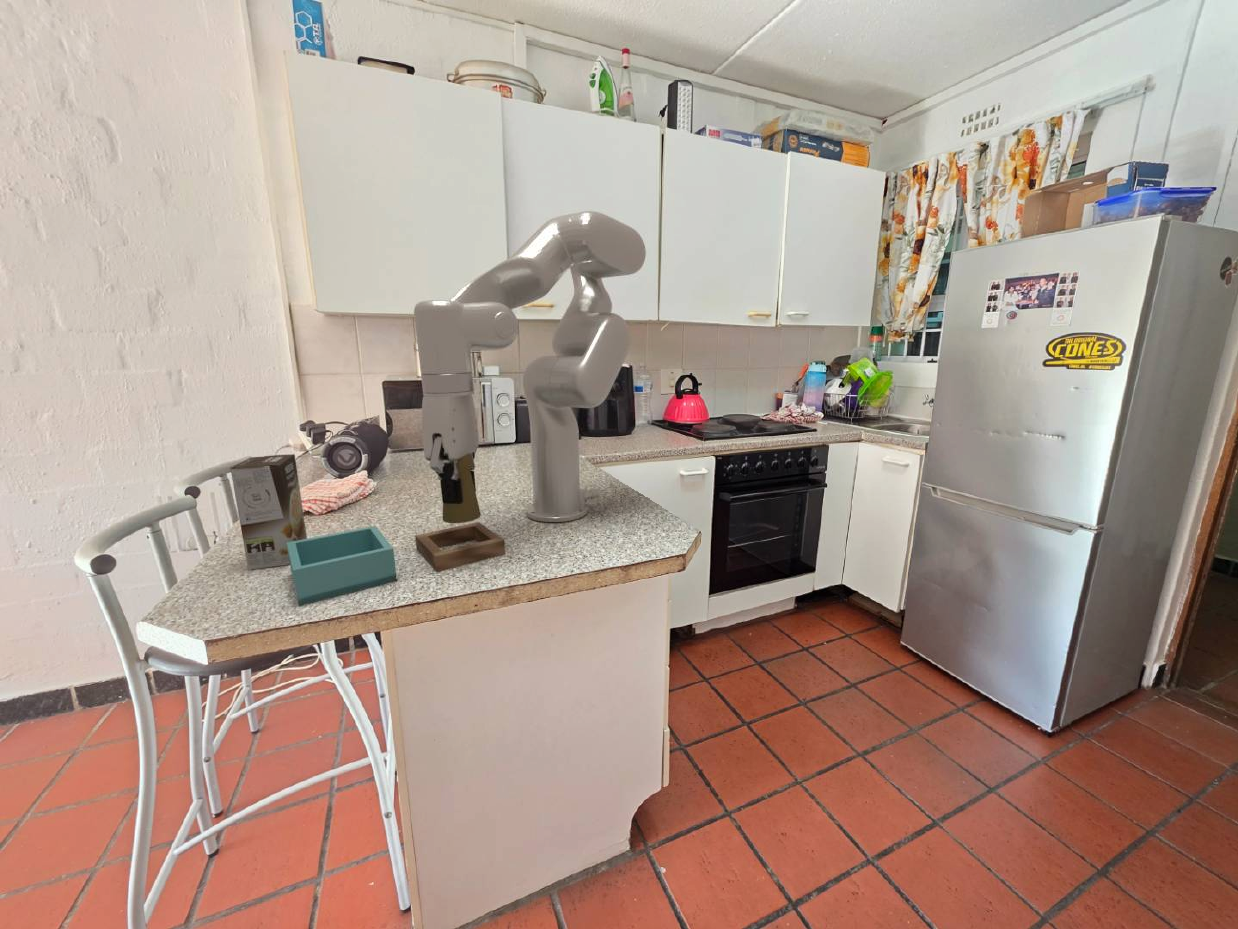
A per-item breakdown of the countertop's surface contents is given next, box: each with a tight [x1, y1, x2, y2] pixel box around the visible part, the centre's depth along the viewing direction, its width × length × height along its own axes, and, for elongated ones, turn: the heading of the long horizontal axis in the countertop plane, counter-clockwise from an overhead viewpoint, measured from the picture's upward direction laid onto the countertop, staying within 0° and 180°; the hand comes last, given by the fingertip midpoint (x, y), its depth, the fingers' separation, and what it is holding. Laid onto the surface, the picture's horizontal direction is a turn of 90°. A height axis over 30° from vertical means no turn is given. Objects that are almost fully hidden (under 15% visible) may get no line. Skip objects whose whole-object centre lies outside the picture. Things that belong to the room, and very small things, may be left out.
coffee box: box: [229, 453, 308, 571], centre depth 77 cm, size 9×6×16 cm
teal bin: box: [287, 525, 398, 607], centre depth 71 cm, size 12×12×5 cm
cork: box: [441, 453, 481, 524], centre depth 79 cm, size 6×6×11 cm
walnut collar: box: [414, 521, 506, 573], centre depth 80 cm, size 11×11×2 cm
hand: (459, 497), depth 79 cm, fingers closed on cork, 4 cm apart
